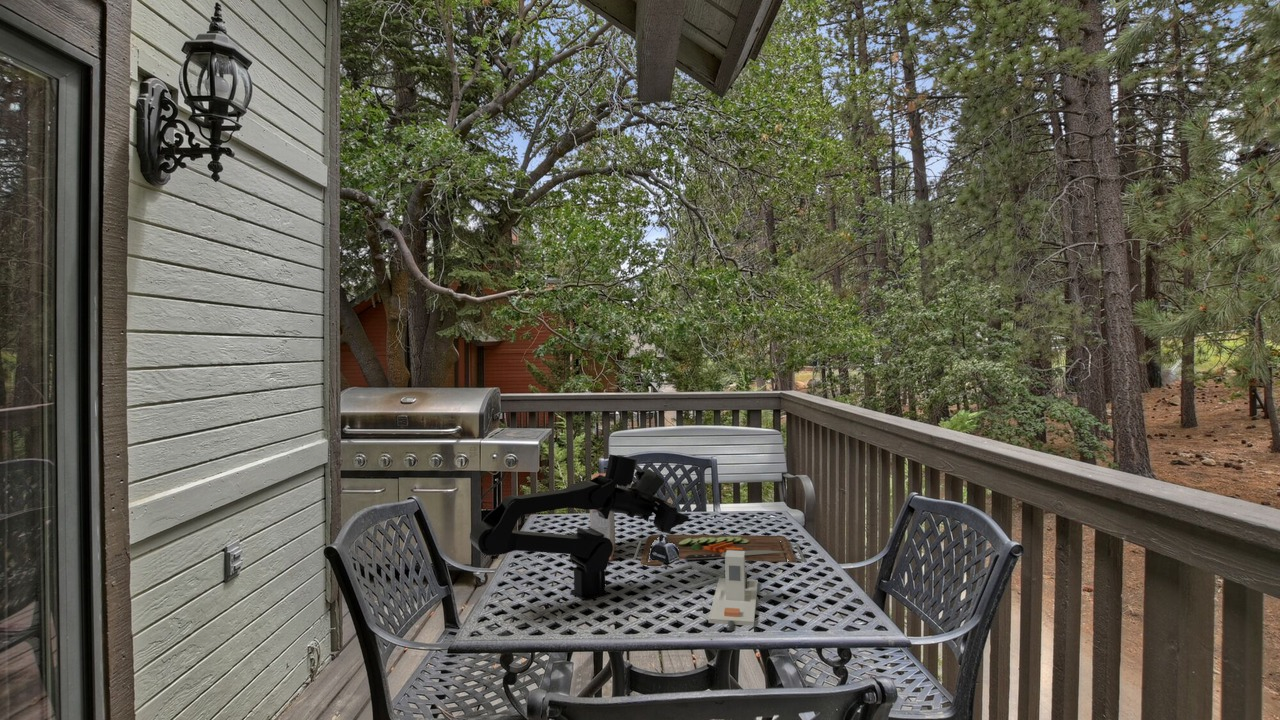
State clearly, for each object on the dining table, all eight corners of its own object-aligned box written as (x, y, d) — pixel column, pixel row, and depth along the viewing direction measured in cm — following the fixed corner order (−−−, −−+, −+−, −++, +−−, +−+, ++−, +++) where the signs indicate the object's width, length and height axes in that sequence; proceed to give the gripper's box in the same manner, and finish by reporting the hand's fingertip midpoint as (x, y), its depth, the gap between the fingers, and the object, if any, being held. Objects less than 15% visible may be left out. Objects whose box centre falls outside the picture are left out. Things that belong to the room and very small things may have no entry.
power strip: (753, 636, 131) (753, 623, 131) (707, 632, 133) (706, 620, 132) (757, 586, 157) (757, 576, 157) (719, 584, 159) (719, 574, 159)
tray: (689, 593, 153) (689, 587, 153) (655, 580, 163) (655, 574, 163) (726, 581, 161) (725, 575, 161) (691, 569, 170) (691, 563, 170)
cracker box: (594, 546, 191) (593, 472, 191) (615, 545, 191) (614, 472, 191) (589, 561, 177) (587, 483, 177) (612, 561, 177) (610, 482, 177)
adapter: (725, 602, 146) (725, 556, 146) (727, 594, 150) (726, 550, 150) (744, 603, 145) (743, 557, 145) (745, 595, 150) (744, 551, 149)
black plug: (746, 591, 152) (745, 573, 152) (728, 590, 153) (728, 572, 153) (746, 585, 156) (746, 567, 156) (729, 584, 157) (729, 567, 157)
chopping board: (795, 540, 195) (794, 529, 195) (809, 571, 169) (808, 559, 169) (640, 538, 200) (640, 528, 200) (630, 568, 173) (630, 556, 173)
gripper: (655, 482, 151) (709, 493, 159) (619, 457, 167) (669, 469, 175) (640, 529, 151) (694, 538, 159) (605, 500, 167) (656, 509, 175)
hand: (678, 511), depth 167 cm, fingers open, 9 cm apart
